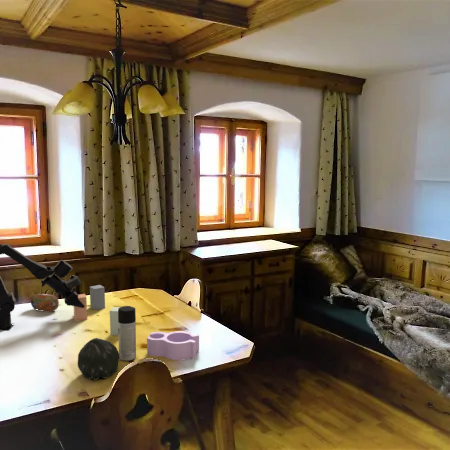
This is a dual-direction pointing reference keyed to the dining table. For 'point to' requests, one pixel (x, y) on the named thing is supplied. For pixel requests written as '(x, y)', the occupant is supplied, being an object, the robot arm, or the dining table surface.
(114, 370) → the squash
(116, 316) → the pale grey tall block
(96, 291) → the tall grey pillar
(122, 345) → the spray can
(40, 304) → the tin
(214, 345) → the dining table surface
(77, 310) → the salmon pink pillar
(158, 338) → the clip
